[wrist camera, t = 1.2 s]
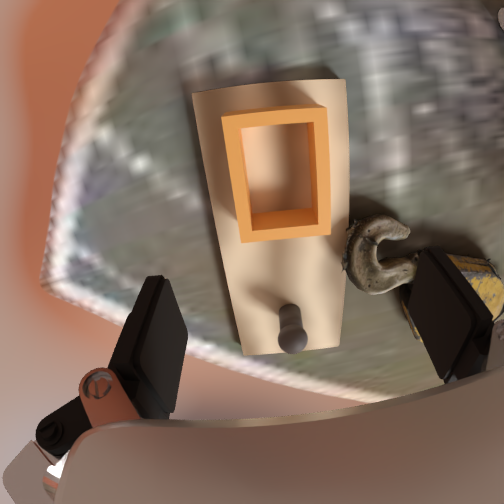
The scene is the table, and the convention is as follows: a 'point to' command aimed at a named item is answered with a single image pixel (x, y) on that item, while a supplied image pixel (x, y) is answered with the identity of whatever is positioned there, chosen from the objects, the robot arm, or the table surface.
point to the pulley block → (408, 266)
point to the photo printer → (501, 17)
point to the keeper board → (278, 199)
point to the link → (319, 215)
